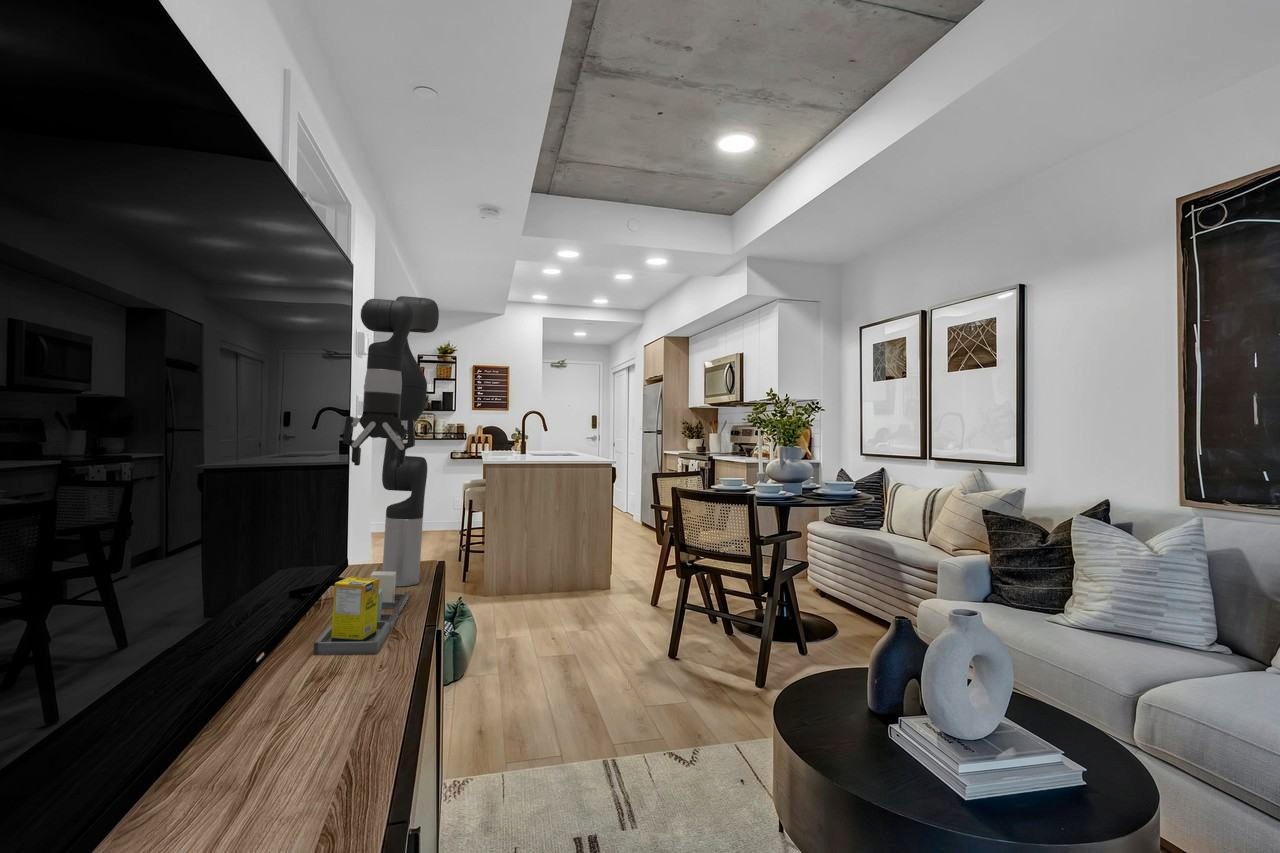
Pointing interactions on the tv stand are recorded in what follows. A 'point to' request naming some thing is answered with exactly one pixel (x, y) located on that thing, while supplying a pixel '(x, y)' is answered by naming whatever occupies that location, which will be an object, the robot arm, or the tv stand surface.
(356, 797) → the tv stand surface
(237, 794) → the tv stand surface
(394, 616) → the rails
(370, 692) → the tv stand surface
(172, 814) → the tv stand surface
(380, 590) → the sage green square block
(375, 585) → the supplement box
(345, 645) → the tray
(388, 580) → the cream block
